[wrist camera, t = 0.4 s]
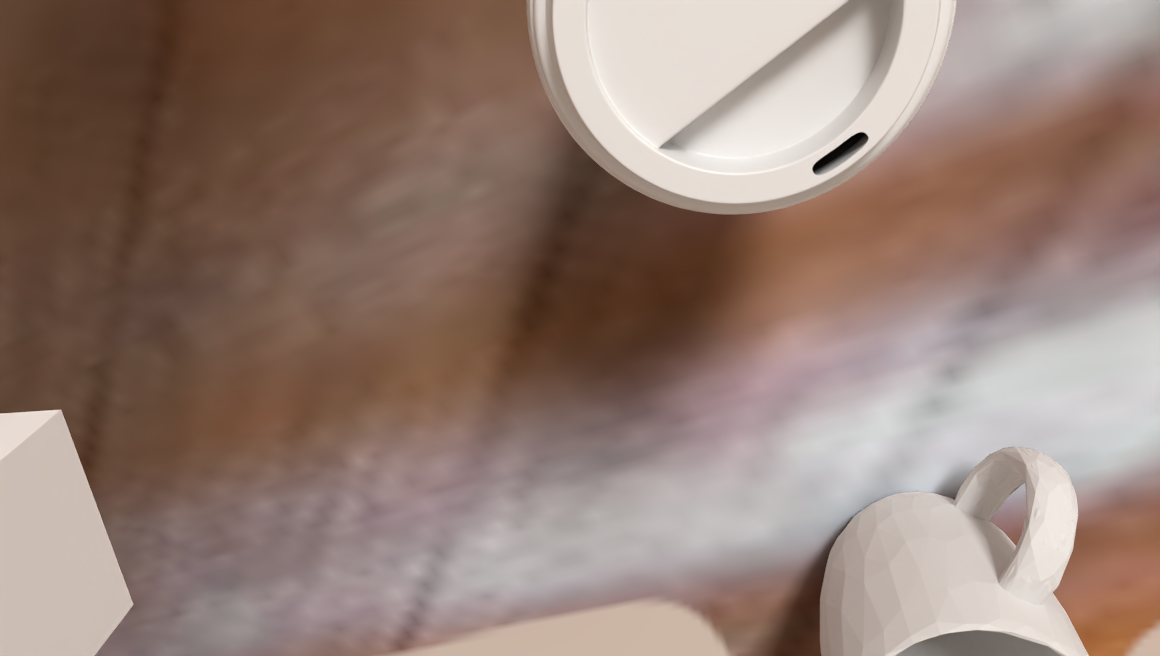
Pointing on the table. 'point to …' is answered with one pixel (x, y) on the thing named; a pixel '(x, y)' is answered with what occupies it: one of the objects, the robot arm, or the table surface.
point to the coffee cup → (737, 90)
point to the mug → (956, 569)
